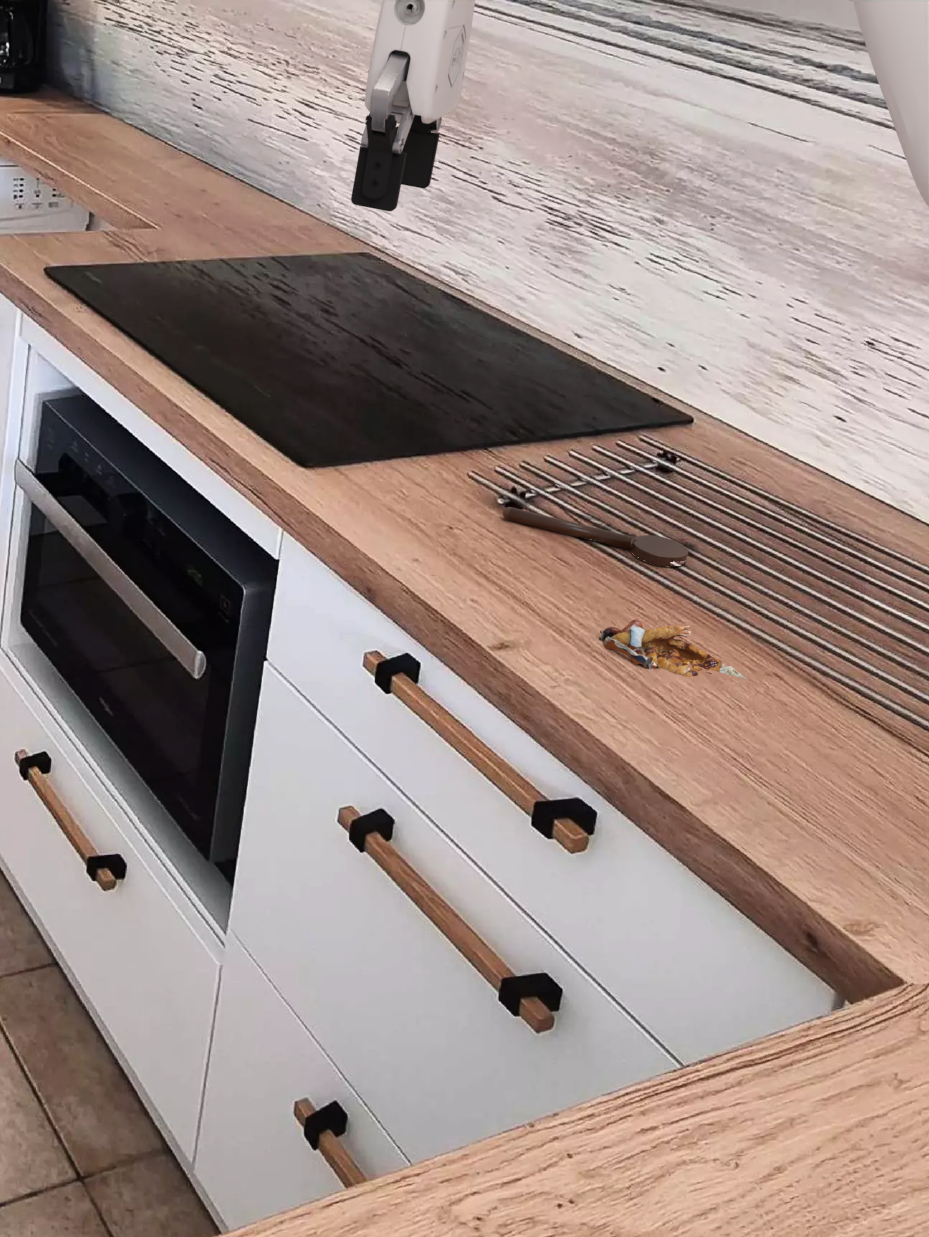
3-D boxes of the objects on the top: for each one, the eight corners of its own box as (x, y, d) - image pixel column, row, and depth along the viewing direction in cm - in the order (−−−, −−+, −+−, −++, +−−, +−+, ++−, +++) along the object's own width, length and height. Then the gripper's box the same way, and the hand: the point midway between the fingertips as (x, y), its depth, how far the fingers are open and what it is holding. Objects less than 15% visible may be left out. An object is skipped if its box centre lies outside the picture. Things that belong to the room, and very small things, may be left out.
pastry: (756, 715, 125) (770, 673, 124) (591, 679, 128) (602, 637, 126) (751, 674, 131) (764, 633, 130) (593, 641, 134) (604, 600, 132)
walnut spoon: (688, 553, 152) (691, 541, 151) (682, 572, 148) (685, 560, 147) (506, 509, 157) (509, 497, 157) (496, 526, 153) (498, 514, 153)
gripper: (463, -44, 106) (412, 227, 114) (517, -56, 120) (467, 185, 128) (349, -60, 109) (306, 207, 117) (414, -70, 123) (372, 168, 131)
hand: (390, 195), depth 122 cm, fingers open, 9 cm apart
